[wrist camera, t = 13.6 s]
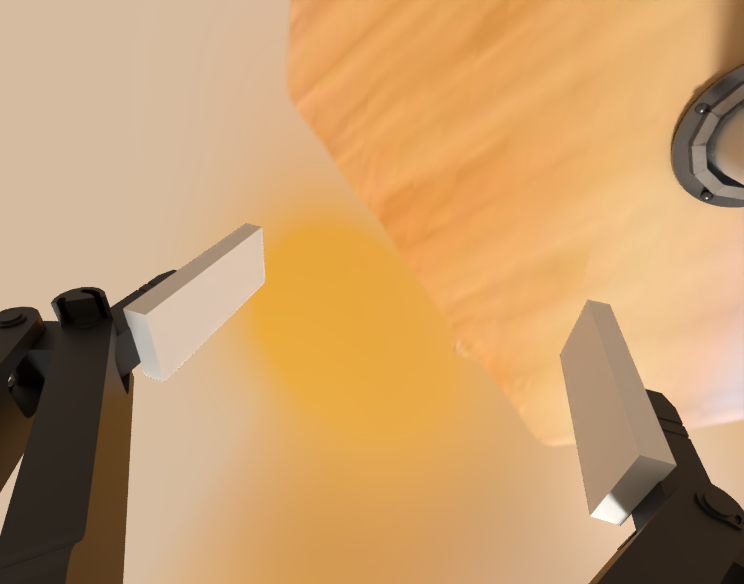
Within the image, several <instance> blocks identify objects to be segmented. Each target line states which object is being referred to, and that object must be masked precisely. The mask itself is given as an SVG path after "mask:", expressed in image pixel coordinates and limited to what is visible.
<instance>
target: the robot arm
mask: <svg viewBox="0 0 744 584" xmlns="http://www.w3.org/2000/svg"><path fill="white" fill-rule="evenodd" d="M263 250H264V249H263V234H262V227H260V226H255V225H251V224H247V223H246V224H244V225H243V226H241V227H240V228H238V229H237V230H236V231H234V232H233V233H231V234H230V235H228V236H227V237H225V238H224V239H223V240H221V241H220V242H218V243H217V244H215V245H214V246H213V247H211V248H210V249H208V250H207V251H205V252H204V253H202V254H201V255H200V256H198V257H197V258H195V259H194V260H192V261H191V262H189V263H188V264H187V265H185V266H184V267H182V268H181V269H179V270H178V271H176V270H172V271H169V272H166V273H164V274H161V275H158V276H157V277H155V278H154V279H152V280H151V281H149V282H148V284H145V285H143V286H142V287H140V288H139V290H136V291H135V292H133V293H132V294H130V295H129V296H127V297H126V298H124V299H123V300H121V301H120V302H118V303H117V304H115V305H114V306H112V307H111V308H110V306H109V303H108V301H107V298H106V295H105V292H104V291H103V290H101V289H99V288H94V287H81V288H77V289H72V290H69V291H67V292H64V293H62V294H60V295H59V296H57V297H56V298H54V300H53V301H52V302H51V305H52V307H53V309H54V312H55V314H56V316H57V318H58V321H43V320H42V318H41V316H40V314H39V312H38V310H37V309H34V308H32V307H16V308H10V309H6V310H3V311H1V312H0V492H1V490H2V489H3V487H4V485H5V484H6V482H7V480H8V479H9V477H10V475H11V474H12V472H13V470H14V469H15V467H16V465H17V464H18V462H19V460H20V459H21V457H22V455H23V454H24V456H23V459H22V462H21V466H20V469H19V473H18V476H17V479H16V483H15V486H14V490H13V493H12V497H11V500H10V504H9V507H8V511H7V514H6V517H5V521H4V525H3V528H2V531H1V535H0V584H123V573H124V554H125V535H126V517H127V497H128V479H129V461H130V441H131V422H132V405H133V386H134V376H133V373H132V369H134V368H135V367H136V366H137V365H138V364H139V363H141V366H142V370H143V373H144V376H147V377H150V378H153V379H156V380H159V381H163V382H165V381H166V380H167V379H168V378H169V377H170V376H171V375H172V374H173V373H174V372H175V371H176V370H177V369H178V368H179V367H180V366H181V365H182V364H183V363H184V362H185V361H186V360H187V359H188V358H189V357H190V356H191V355H192V354H193V353H194V352H195V351H196V350H197V349H198V348H199V347H200V346H201V345H202V344H203V343H204V342H205V341H206V340H207V339H208V338H209V337H210V336H211V335H212V334H213V333H214V332H215V331H216V330H217V329H218V328H219V327H220V326H221V325H222V324H223V323H224V322H225V321H226V320H227V319H228V318H229V317H230V316H231V315H232V314H233V313H234V312H235V311H236V310H237V309H239V308H240V306H242V305H243V304H244V303H245V302H246V301H247V299H249V298H250V297H251V296H252V295H253V294H254V293H255V292H256V291H257V290H258V288H260V287H261V286H262V285H263V284H264V283H265V282H266V280H265V266H264V251H263ZM560 358H561V364H562V369H563V374H564V380H565V385H566V390H567V396H568V401H569V406H570V412H571V417H572V423H573V428H574V433H575V439H576V444H577V449H578V455H579V460H580V465H581V471H582V476H583V481H584V487H585V492H586V497H587V503H588V508H589V513H590V516H592V517H595V518H598V519H601V520H604V521H607V522H611V523H614V524H617V525H620V526H621V525H622V524H623V523H624V522H625V520H626V519H627V518H628V517H629V516H630V515H631V514H632V517H633V521H634V524H635V528H636V531H635V532H634V533H633V534H632V535H631V536H630V537H629V538H628V539H627V540H626V541H625V542H624V543H623V544H622V545H621V546H620V547H619V548H618V549H617V550H618V551H617V552H616V553H615V554H614V555H613V556H612V558H611V559H610V560H609V561H608V562H607V563H606V565H605V566H604V567H603V568H602V569H601V570H600V571H599V572H598V574H597V575H596V576H595V577H594V578H593V579H592V581H591V582H590V583H589V584H744V510H743V509H742V508H741V507H740V505H739V504H738V503H737V502H736V501H735V500H734V499H733V498H732V497H731V496H729V495H728V494H727V493H726V492H725V491H723V490H721V489H720V488H718V487H716V486H715V485H713V484H712V483H711V482H710V479H709V477H708V475H707V473H706V471H705V469H704V467H703V465H702V463H701V460H700V458H699V456H698V454H697V452H696V450H695V448H694V446H693V444H692V442H691V440H690V439H688V436H689V435H688V433H687V431H686V429H685V427H684V426H682V424H683V423H682V421H681V419H680V417H679V414H678V412H677V410H676V408H675V407H674V406H673V405H672V404H671V403H670V402H669V401H668V400H667V398H666V397H665V396H664V395H663V394H662V393H659V392H655V391H651V390H647V389H645V388H644V386H643V383H642V381H641V378H640V376H639V373H638V371H637V369H636V366H635V364H634V361H633V359H632V357H631V354H630V352H629V349H628V347H627V345H626V342H625V340H624V337H623V335H622V333H621V330H620V328H619V325H618V323H617V321H616V318H615V316H614V313H613V311H612V309H611V306H610V305H609V304H605V303H600V302H596V301H591V300H587V302H586V304H585V306H584V308H583V310H582V312H581V314H580V316H579V318H578V320H577V322H576V324H575V326H574V328H573V330H572V332H571V334H570V336H569V338H568V340H567V342H566V344H565V346H564V348H563V350H562V352H561V354H560ZM9 377H11V379H10V380H9ZM8 380H9V382H8Z"/></svg>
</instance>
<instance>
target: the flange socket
mask: <svg viewBox="0 0 744 584" xmlns="http://www.w3.org/2000/svg"><path fill="white" fill-rule="evenodd" d="M743 107H744V64H743V65H741V66H739V67H737V68H736V69H734V70H732V71H730V72H729V73H727V74H726V75H724V76H723V77H721V78H720V79H718V80H717V81H716V82H715V83H713V84H712V85H711V86H710V87H708V88H707V89H706V90H705V91H704V92H703V93H702V94H701V95H700V96H699V97H698V98H697V99H696V101H695V102H694V103H693V104H692V105H691V106H690V108H689V109H688V111H687V112H686V113H685V115H684V117H683V118H682V120H681V122H680V123H679V126H678V128H677V130H676V133H675V135H674V139H673V142H672V148H671V164H672V169H673V172H674V175H675V177H676V179H677V181H678V182H679V184H680V185H681V186H682V187H683V188H684V189H685V190H686V191H687V192H688V193H689V194H691V195H692V196H693V197H695V198H697V199H699V200H700V201H703V202H705V203H708V204H711V205H716V206H721V207H744V185H743V184H741V183H739V182H738V181H736V180H734V179H732V178H731V177H729V176H727V175H725V174H724V173H723V172H722V171H721V169H720V168H719V167H718V166H717V164H716V159H715V154H714V151H715V146H716V140H717V138H718V136H719V134H720V132H721V131H722V129H723V127H724V125H725V124H726V123H727V122H728V121H729V120H730V119H731V118H732V116H733V115H734V114H735V113H736V112H737V111H739V110H740V109H742V108H743Z"/></svg>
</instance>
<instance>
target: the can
mask: <svg viewBox="0 0 744 584" xmlns="http://www.w3.org/2000/svg"><path fill="white" fill-rule="evenodd" d="M714 154H715V159H716V164H717V166H718V167H719V168H720V169H721V171H722V172H723V173H724V174H725V175H727V176H729V177H731V178H732V179H734V180H736V181H738V182H739V183H741V184H743V185H744V107H743V108H742V109H740V110H739V111H737V112H736V113H735V114H734V115H733V116H732V118H731V119H730V120H729V121H728V122H727V123H726V124H725V125H724V127H723V129H722V131H721V132H720V134H719V136H718V138H717V140H716V146H715V151H714Z"/></svg>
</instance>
